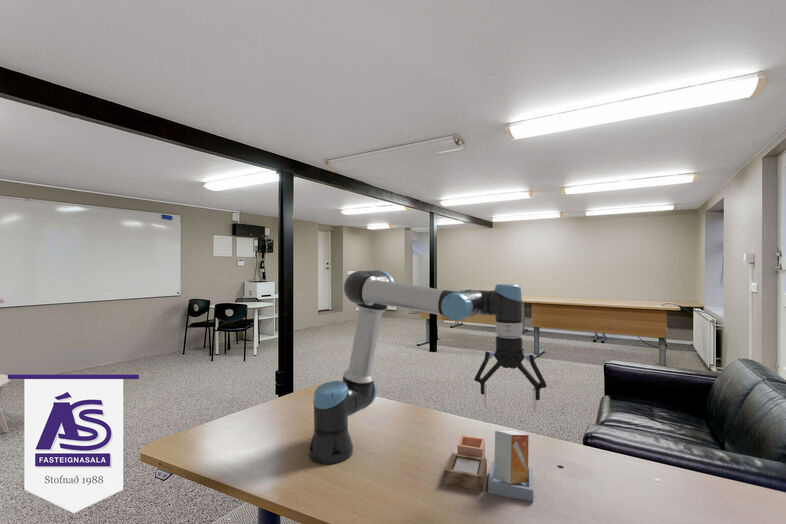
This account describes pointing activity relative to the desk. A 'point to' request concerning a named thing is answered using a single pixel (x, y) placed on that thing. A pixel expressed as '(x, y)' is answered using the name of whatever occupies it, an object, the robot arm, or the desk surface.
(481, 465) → the brown wooden square tray
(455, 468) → the plate
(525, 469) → the small box
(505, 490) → the tray
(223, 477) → the desk surface
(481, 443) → the pink open box
